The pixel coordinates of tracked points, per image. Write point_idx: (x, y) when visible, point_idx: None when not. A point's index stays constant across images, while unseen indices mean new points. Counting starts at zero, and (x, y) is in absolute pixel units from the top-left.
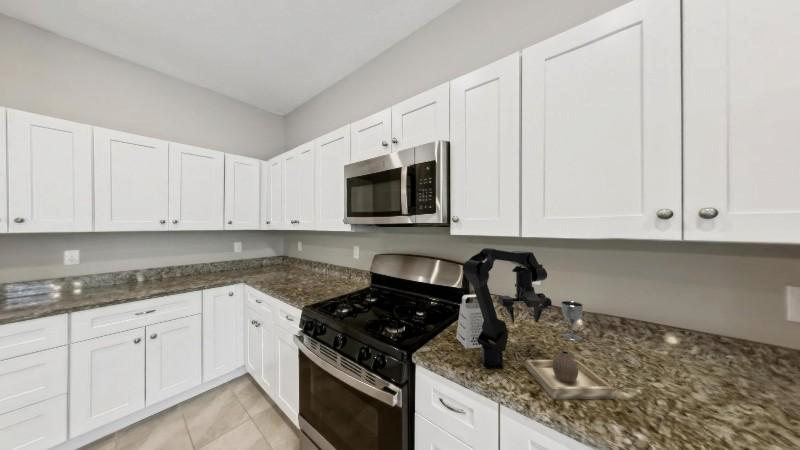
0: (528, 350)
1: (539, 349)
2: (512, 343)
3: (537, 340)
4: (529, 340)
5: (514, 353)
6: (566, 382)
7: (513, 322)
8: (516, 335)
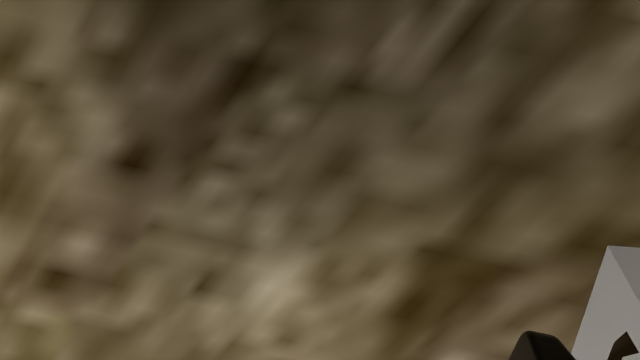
0: (239, 79)
1: (105, 72)
2: (318, 240)
3: (36, 230)
4: (114, 248)
5: (447, 52)
6: None
7: (543, 339)
8: (186, 345)
